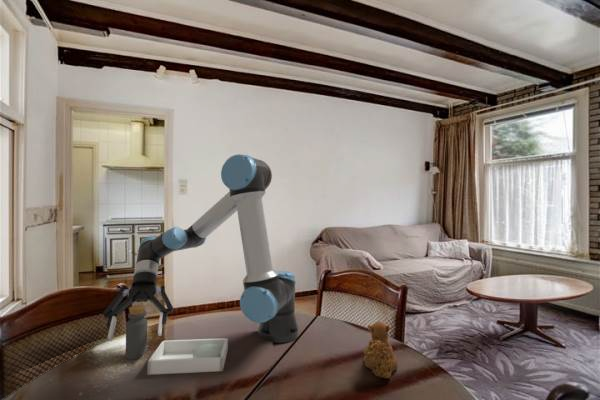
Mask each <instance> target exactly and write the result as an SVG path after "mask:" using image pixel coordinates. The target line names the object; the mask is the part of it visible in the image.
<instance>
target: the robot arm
mask: <svg viewBox="0 0 600 400" xmlns="http://www.w3.org/2000/svg"><path fill="white" fill-rule="evenodd" d="M220 179H221V181H222V183H223V185H224V186H225V187H226V188H228V189H229V191H228V192H227V193H226V194H224V195H223V196H222V198H220V199H219V200H218V201H216V203H214V204H213V206H212V207H210V208H209V209H208V210H207V211H206V212H204V214H202V215H201V216H200V217H199V218H198V219H197V220H195V222H193V223H192V224H191V225H190V226H189V227H188V228H187V229H183V228H180V227H179V226H174V227H172V228H169V229H167V230H165V231H164V232H163V233H162V234H160V235H158V236H149V237H144V238H142V239H141V241H140V244H139V247H138V251H137V252H138V253H137V257H136V262H135V268H134V272H133V278H132V282H131V287H130V288H129V289H128V288H127V289H125V288H124V287H121V288H119V291H118V293H117V294H116V296H115V297H114V298H113V299H112V301H111V302H110V303H109V305H107V307H106V309H105V310H104V311H103V312H102V316H103V318H104V319H106V320H107V323H106V329H107V330H108V334H107V339H108V342H112V341H113V339H114V333H115V330H116V325H117V318H118V316H119V315H120V314H122V313H123V312H125V310H126V309H127V308H129V306H132V305H133V304H134V303H135V302H136V303H141V302H144V303H146V302H149V301H150V303H151V304H153V306H155V307H156V309H158V311H159V312H160V313H159V320H158V327H157V335H158V337H161V336H162V333H163V331H162V330H163V325H166V324H167V319H168V315H170V314H173V313H174V307H173V305H172V303H171V300H170V299H169V297H168V295H167V292H166V286H165V285H161V286H160V287H157V280H158V273H159V266H160V260H161V259H163V258H165V257H166V256H168V255H169V254H171V253H174V252H177V251H181V250H183V251H184V250H187V249H192V248H198V247H201V246H202V245H204V244H205V243H206V239H207V238H208V237H209V236H210V234H212V233H213V232H215V230H217V229H218V228H219V227H220V226H222V224H224V223H225V222H226V221H227V220H228V219H230V217H232V216H233V215H234V214H235V213H237V217H238V223H239V224H238V225H239V231H240V237H241V244H242V251H243V258H244V264H245V271H246V275H245V276H244V278H243V280H242V283H243V290H244V291H243V292H242V294H241V295H240V297H239V306H240V309H241V312H242V314H243V315H244V317H245V318H247V319H249V320H250V321H251V322H254V323H256V324H257V323H258V328H257V334H258V336H259V337H260V338H262V339H264V340H267V341H271V342H272V343H273V344H275V343H276V344H281V343H282V344H284V343H288V342H292V341H294V340H296V339H298V337H299V336H300V327H299V323H298V320H297V317H296V313H295V310H296V309H295V308H296V302H295V301H296V275H295V273H294V272H292V271H285V270H274V268H273V262H272V257H271V250H270V243H269V238H268V232H267V231H268V230H267V223H266V219H265V212H264V205H263V200H262V199H263V197H264V195H265V194H266V190H267V189H268V187H269V186H270V184H271V182H272V179H273V174H272V170H271V168H270V166H269V164H267V162H265V161H264V160H261V159H258V158H255V157H251V155H248V154H239V153H237V154H234V155H232V156H229V158H227V159H226V160H225V162H224V163H223V164H222V167H221V171H220ZM157 293H158V294H159V295H161V298H162V300H163V302H164V304H165V306H166V307H165V306H164V305H163V304H162V303H161V301H160V300H158V299H157V297H156V296H155V295H156V294H157ZM127 295H128V296H127ZM126 296H127V297H126ZM124 297H126V299H125V300H124ZM122 300H124V301H123V302H122Z"/></svg>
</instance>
